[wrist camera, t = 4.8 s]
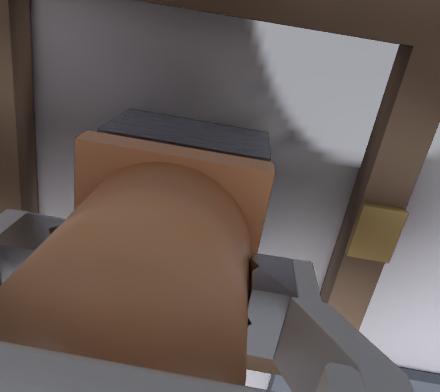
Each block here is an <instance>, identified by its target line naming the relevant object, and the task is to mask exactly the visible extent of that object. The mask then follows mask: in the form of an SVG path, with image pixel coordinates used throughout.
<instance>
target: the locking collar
mask: <svg viewBox="0 0 440 392" xmlns="http://www.w3.org/2000/svg"><path fill="white" fill-rule="evenodd" d="M138 1H144V2H150V3H156V4H162V5H168V6H174V7H180V8H186V9H192V10H198V11H204V12H210V13H216V14H222V15H228V16H234V17H240V18H246V19H252V20H258V21H264V22H270V23H275V24H281V25H288V26H294V27H300V28H306V29H311V30H317V31H323V32H329V33H335V34H341V35H347V36H354V37H359V38H366V39H371V40H377V41H383V42H389V43H395V44H400V45H399V48H398V51H397V55H396V58H395V61H394V64H393V67H392V70H391V73H390V77H389V80H388V83H387V86H386V89H385V93H384V95H383V98H382V102H381V105H380V108H379V111H378V114H377V117H376V121H375V123H374V126H373V130H372V133H371V136H370V139H369V142H368V145H367V148H366V152H365V155H364V158H363V161H362V164H361V167H360V170H359V173H358V177H357V180H356V183H355V186H354V189H353V192H352V195H351V198H350V202H349V205H348V208H347V211H346V214H345V217H344V220H343V223H342V227H341V230H340V233H339V236H338V239H337V242H336V245H335V248H334V252H333V255H332V258H331V261H330V264H329V267H328V270H327V273H326V277H325V280H324V283H323V286H322V289H321V292H320V296H321V300H322V302H323V303H328V304H329V305H330V306H331V307H333V308H334V309H335V310H336V311H337V312H338V313H339V314H340V315H341V316H343V317H344V318H345V319H346V320H347V321H348V322H349V323H350V324H351V325H352V326H354V327H355V328H356V329H357V330H358V331H359V328H360V326H361V323H362V320H363V318H364V315H365V313H366V310H367V307H368V305H369V302H370V300H371V297H372V295H373V292H374V289H375V287H376V284H377V282H378V279H379V277H380V274H381V271H382V269H383V266H384V264H385V263H389V262H390V260H391V257H392V255H393V252H394V249H395V247H396V244H397V242H398V239H399V237H400V234H401V232H402V229H403V227H404V224H405V222H406V219H407V216H408V214H409V213H408V212H407V211H406V207H407V205H408V202H409V199H410V197H411V194H412V192H413V189H414V186H415V184H416V181H417V179H418V176H419V174H420V171H421V168H422V166H423V163H424V161H425V158H426V156H427V153H428V150H429V148H430V145H431V143H432V140H433V137H434V135H435V132H436V129H437V127H438V124H439V122H440V0H138ZM6 209H15V210H22V211H28V212H30V213H31V212H32V213H37V214H38V191H37V168H36V144H35V121H34V97H33V74H32V50H31V27H30V3H29V0H0V214H1V213H2V212H4V211H5V210H6ZM246 369H248V370H254V371H259V372H264V373H270V374H275V375H281V373H280V372H279V370H278V369H277V367H276V365H275V364H274V362H273V360H271V359H267V358H262V357H257V356H252V355H248V354H247V361H246ZM281 376H282V375H281Z"/></svg>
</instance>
